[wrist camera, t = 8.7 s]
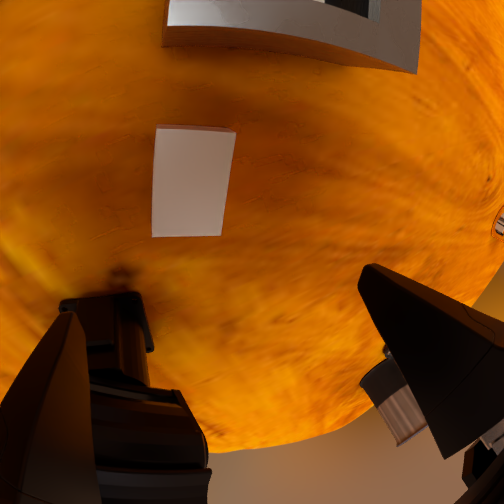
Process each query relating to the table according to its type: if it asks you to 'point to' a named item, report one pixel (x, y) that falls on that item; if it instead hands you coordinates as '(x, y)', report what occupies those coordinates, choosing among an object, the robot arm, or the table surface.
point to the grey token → (190, 179)
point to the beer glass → (499, 226)
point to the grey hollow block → (303, 29)
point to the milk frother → (394, 400)
